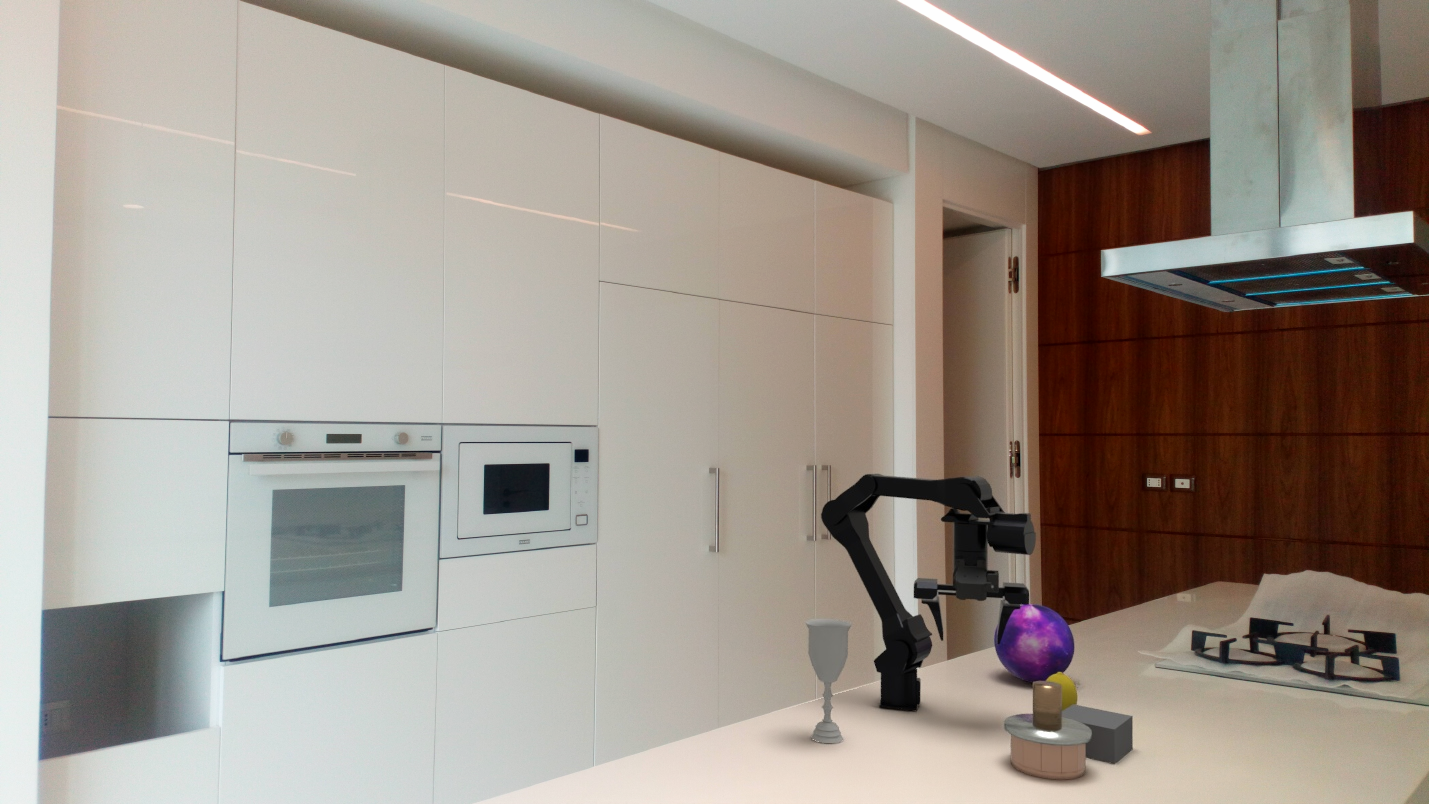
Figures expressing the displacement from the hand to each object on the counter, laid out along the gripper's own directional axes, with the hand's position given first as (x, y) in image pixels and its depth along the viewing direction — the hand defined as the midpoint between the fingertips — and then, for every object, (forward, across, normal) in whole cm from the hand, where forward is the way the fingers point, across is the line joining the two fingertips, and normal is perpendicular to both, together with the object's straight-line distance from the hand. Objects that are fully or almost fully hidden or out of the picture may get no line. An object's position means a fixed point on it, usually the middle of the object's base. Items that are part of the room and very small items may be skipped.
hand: (969, 642), depth 154 cm
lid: (+8, +10, -20) cm, 24 cm away
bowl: (+13, +10, -20) cm, 26 cm away
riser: (+13, +18, -10) cm, 24 cm away
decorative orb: (+13, +13, +30) cm, 35 cm away
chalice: (+13, -22, -17) cm, 31 cm away
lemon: (+13, +15, +5) cm, 21 cm away
